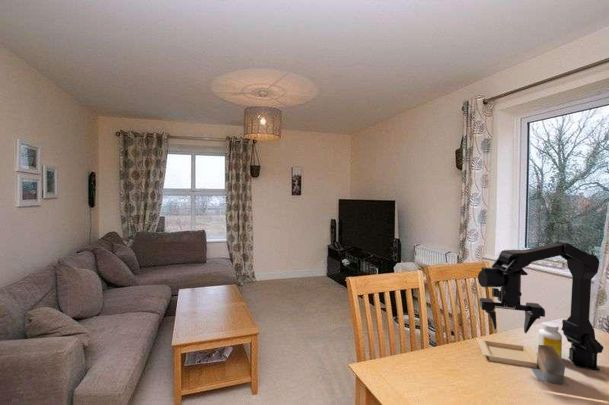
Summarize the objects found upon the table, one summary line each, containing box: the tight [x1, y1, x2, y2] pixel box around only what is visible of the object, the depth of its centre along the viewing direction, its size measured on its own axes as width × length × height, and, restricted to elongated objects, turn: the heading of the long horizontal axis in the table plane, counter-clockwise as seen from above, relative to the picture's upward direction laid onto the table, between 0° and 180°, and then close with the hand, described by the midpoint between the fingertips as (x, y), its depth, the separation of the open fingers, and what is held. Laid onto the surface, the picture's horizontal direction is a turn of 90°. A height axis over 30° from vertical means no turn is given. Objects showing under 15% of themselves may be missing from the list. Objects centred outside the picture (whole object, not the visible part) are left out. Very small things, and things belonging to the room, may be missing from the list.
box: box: [537, 344, 566, 386], centre depth 101 cm, size 4×9×7 cm, turn 161°
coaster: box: [529, 367, 571, 387], centre depth 102 cm, size 8×8×1 cm
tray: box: [476, 338, 538, 368], centre depth 115 cm, size 18×13×2 cm
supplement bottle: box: [538, 321, 563, 360], centre depth 113 cm, size 7×7×13 cm
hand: (509, 330), depth 110 cm, fingers open, 9 cm apart
